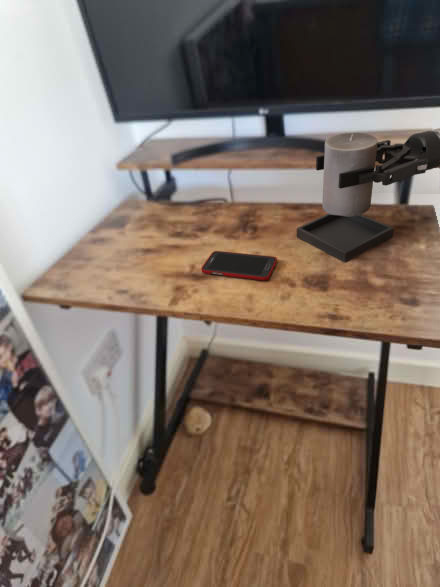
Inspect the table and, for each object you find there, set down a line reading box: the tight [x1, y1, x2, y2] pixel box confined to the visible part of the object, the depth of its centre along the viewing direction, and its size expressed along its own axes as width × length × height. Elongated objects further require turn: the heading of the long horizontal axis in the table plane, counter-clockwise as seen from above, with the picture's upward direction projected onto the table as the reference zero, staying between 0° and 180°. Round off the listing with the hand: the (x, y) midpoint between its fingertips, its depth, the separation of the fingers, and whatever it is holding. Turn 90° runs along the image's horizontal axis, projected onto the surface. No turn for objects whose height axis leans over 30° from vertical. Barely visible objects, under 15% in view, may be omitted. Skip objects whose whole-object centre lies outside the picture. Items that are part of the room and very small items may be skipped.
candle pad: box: [296, 213, 395, 263], centre depth 88 cm, size 14×14×2 cm
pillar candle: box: [321, 132, 379, 217], centre depth 80 cm, size 10×10×15 cm
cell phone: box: [200, 250, 278, 281], centre depth 84 cm, size 8×15×1 cm, turn 69°
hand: (327, 171), depth 79 cm, fingers closed on pillar candle, 9 cm apart
